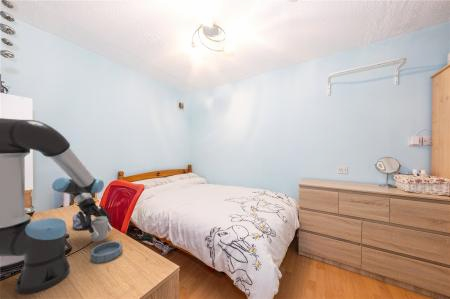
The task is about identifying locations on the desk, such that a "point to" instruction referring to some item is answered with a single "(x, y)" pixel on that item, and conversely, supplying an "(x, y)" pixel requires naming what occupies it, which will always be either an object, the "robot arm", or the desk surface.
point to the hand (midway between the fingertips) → (104, 233)
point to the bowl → (106, 252)
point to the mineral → (78, 222)
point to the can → (100, 228)
